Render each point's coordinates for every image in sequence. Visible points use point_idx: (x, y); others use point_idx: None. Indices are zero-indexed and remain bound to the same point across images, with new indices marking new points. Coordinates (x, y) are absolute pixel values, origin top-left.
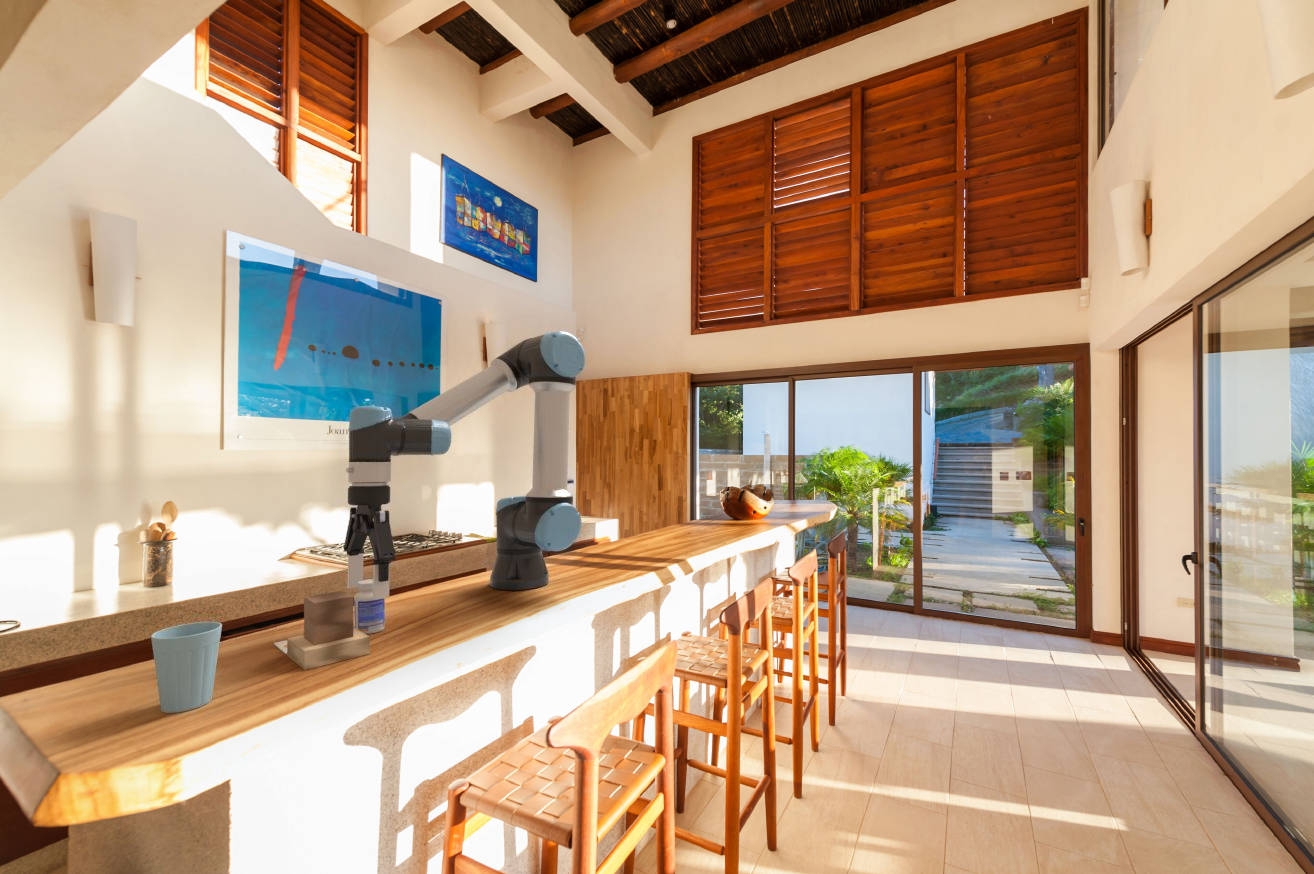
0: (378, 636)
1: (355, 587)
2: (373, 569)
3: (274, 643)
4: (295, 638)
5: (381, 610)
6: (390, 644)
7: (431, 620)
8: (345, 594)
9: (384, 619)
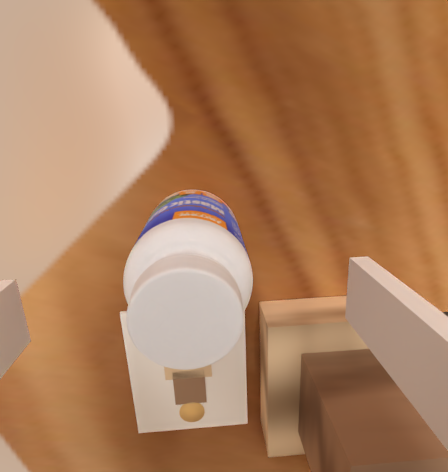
0: (276, 231)
1: (23, 312)
2: (430, 426)
3: (144, 432)
4: (287, 445)
5: (236, 228)
6: (379, 230)
7: (228, 16)
8: (435, 467)
9: (217, 202)
